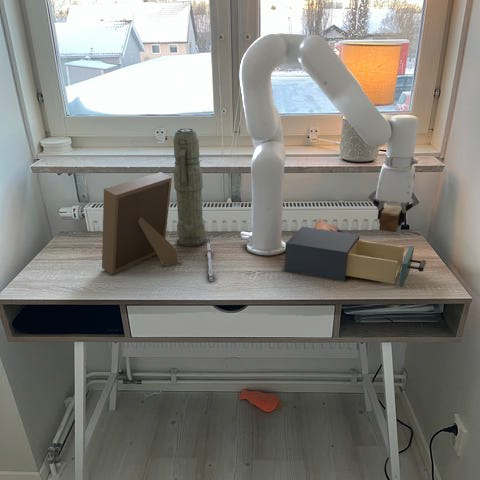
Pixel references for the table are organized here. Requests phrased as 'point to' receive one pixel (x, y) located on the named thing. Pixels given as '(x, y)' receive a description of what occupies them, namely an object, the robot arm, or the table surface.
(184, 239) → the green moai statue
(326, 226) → the sunglasses case
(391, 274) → the drawer
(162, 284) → the table surface
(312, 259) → the cabinet
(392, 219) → the box
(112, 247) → the photo frame
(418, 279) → the table surface
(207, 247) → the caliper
